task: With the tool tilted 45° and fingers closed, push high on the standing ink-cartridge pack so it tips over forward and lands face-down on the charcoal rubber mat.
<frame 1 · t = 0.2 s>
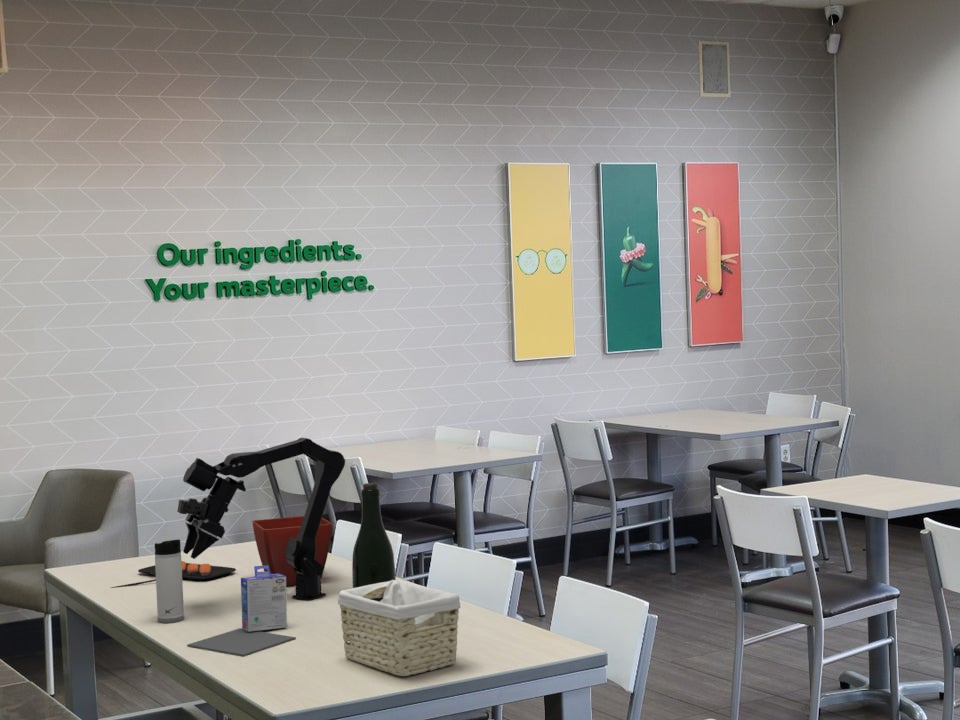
hand: (188, 555, 296), 15 cm above the table, tool tilted 30°, fingers open, 9 cm apart
storage basket: (400, 662, 247), on the table
plant pot: (294, 582, 332), on the table
mat: (241, 642, 267), on the table
travel mug: (171, 621, 291), on the table
ink cartridge box: (264, 629, 278), on the table, touching mat
sushi plate: (167, 581, 342), on the table
green wine bottle: (375, 622, 282), on the table
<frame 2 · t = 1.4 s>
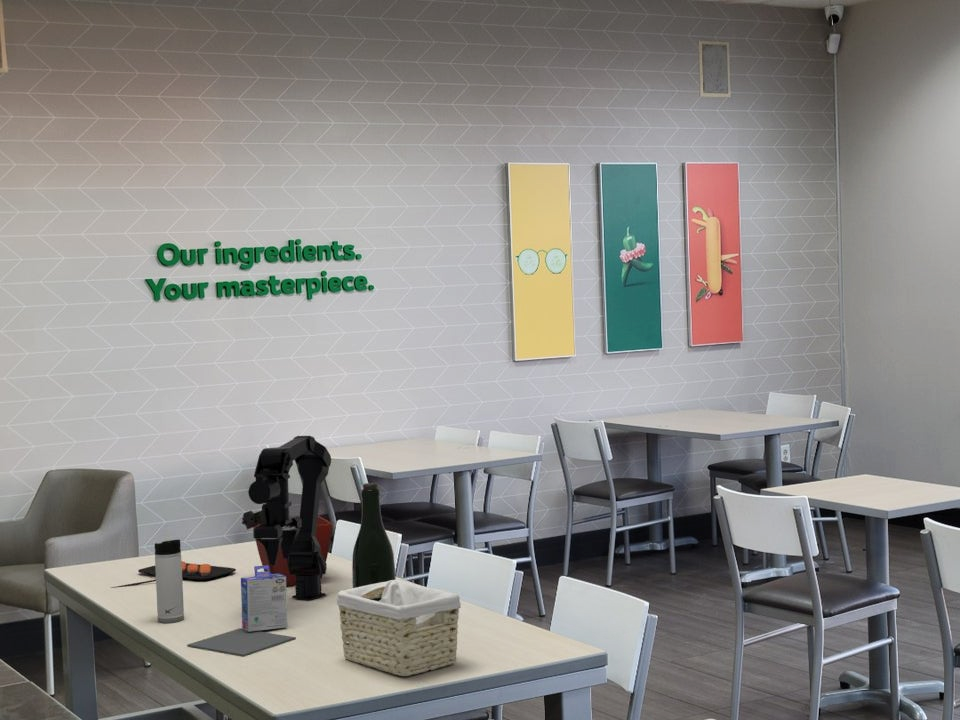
hand: (279, 561, 293), 13 cm above the table, tool pointing down, fingers open, 9 cm apart
nothing on the table moved.
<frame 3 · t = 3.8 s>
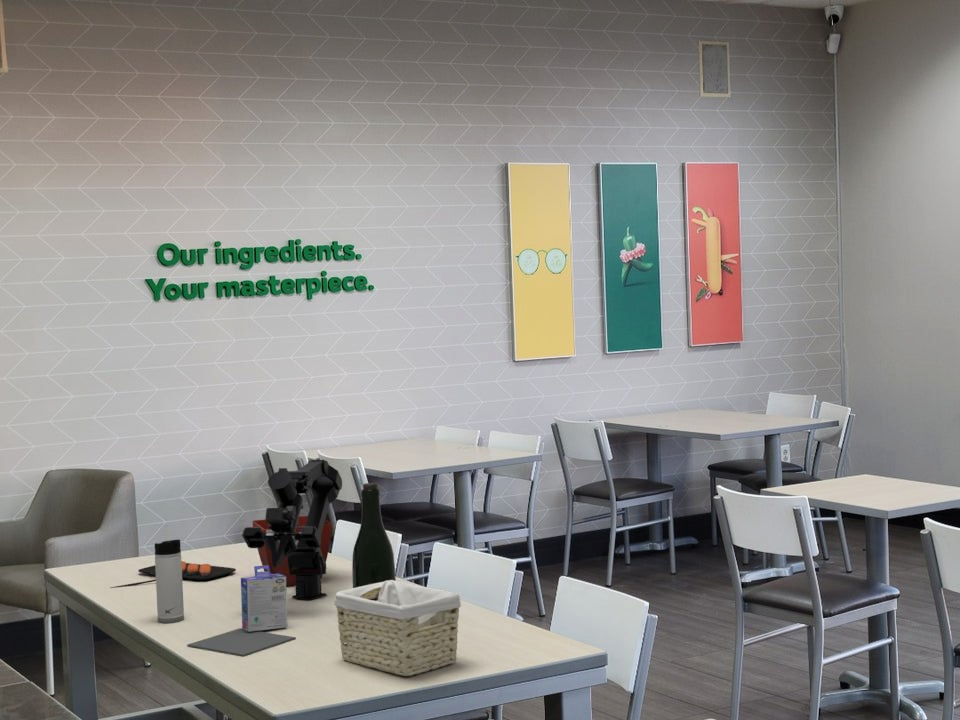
hand: (274, 566, 287), 13 cm above the table, tool tilted 45°, fingers closed
nothing on the table moved.
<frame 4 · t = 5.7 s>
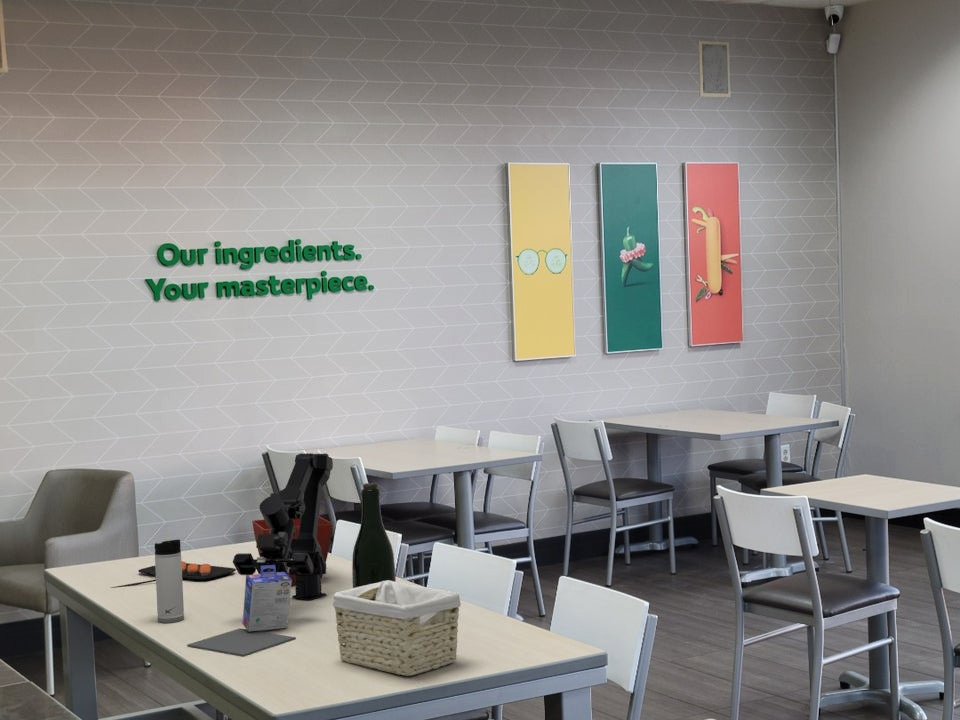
hand: (265, 594, 280), 8 cm above the table, tool tilted 45°, fingers closed
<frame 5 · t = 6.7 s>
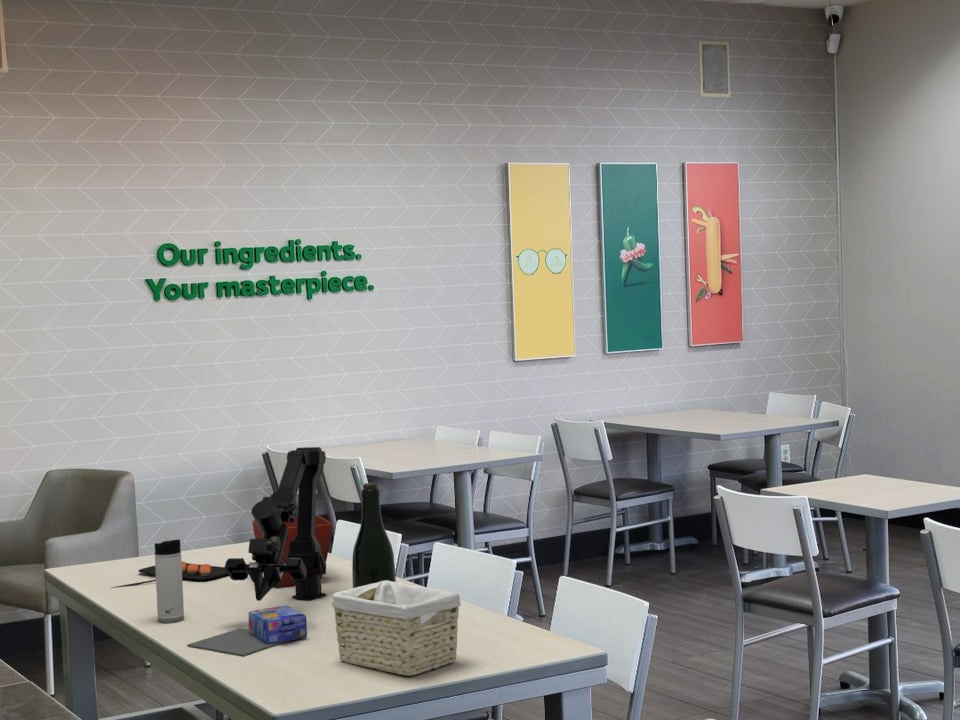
hand: (258, 599, 275), 8 cm above the table, tool tilted 45°, fingers closed
ink cartridge box: (268, 618, 276), point 3 cm above the table, touching mat
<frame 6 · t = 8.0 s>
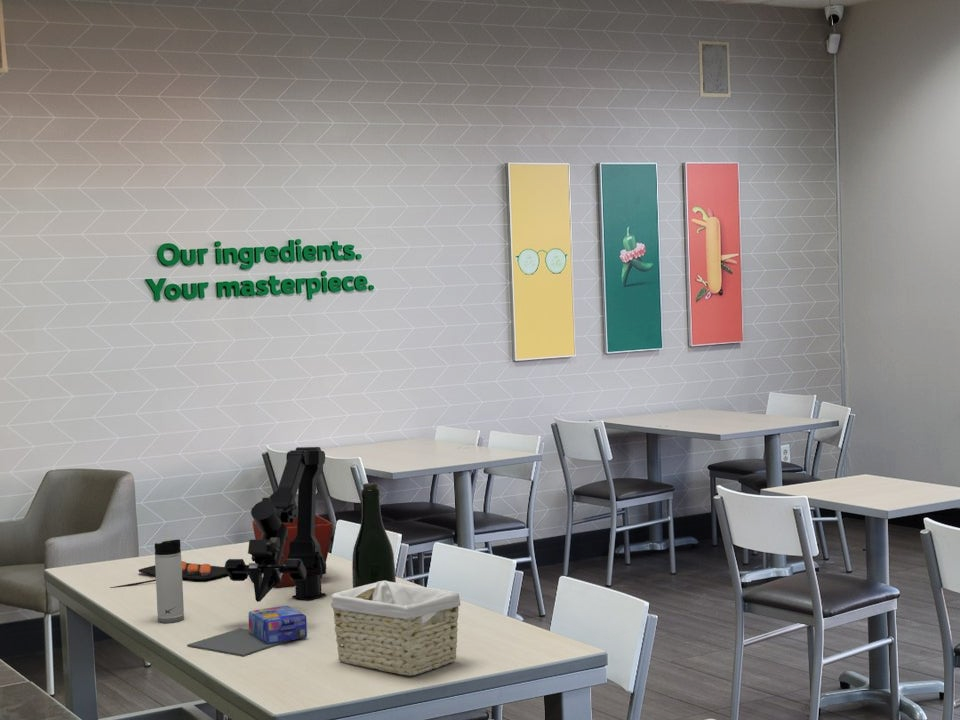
hand: (257, 600, 275), 8 cm above the table, tool tilted 45°, fingers closed
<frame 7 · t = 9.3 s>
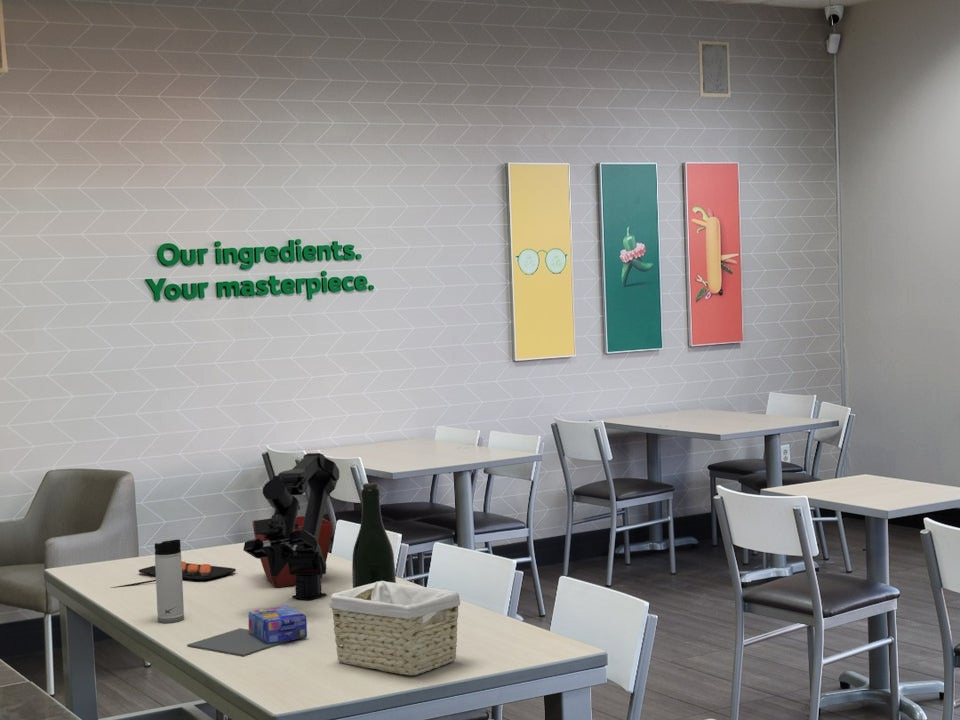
hand: (273, 576, 287), 11 cm above the table, tool tilted 35°, fingers closed
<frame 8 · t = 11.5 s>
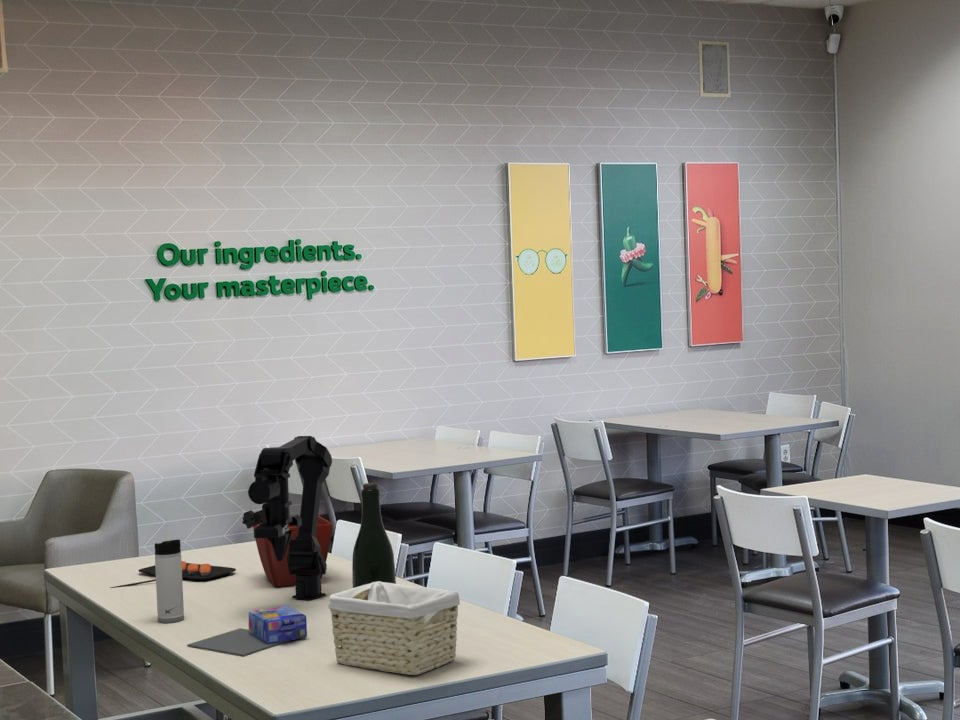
hand: (279, 560, 294), 13 cm above the table, tool pointing down, fingers closed
at the end: ink cartridge box tilted 92°; ink cartridge box inside the target area (9.5 cm from its centre), point 3.2 cm above the table; travel mug touching table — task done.
